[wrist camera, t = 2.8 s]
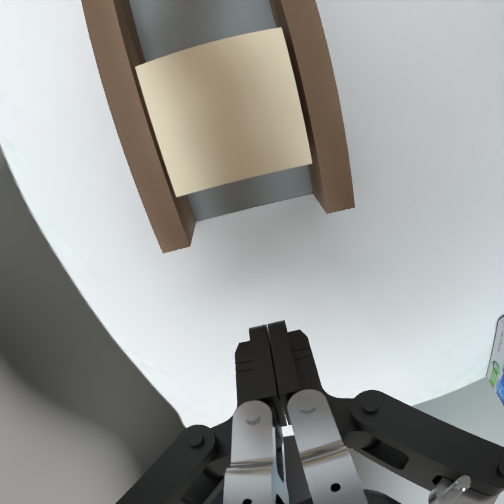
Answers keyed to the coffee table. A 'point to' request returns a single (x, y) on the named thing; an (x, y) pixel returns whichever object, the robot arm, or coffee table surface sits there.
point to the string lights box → (498, 362)
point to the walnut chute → (194, 34)
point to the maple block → (226, 111)
